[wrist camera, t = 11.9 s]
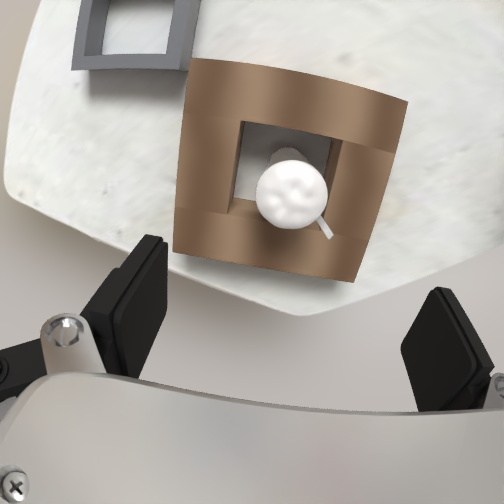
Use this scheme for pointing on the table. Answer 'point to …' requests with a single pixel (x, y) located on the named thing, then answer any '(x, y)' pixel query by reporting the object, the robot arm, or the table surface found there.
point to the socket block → (294, 117)
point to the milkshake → (292, 192)
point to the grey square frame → (174, 59)
